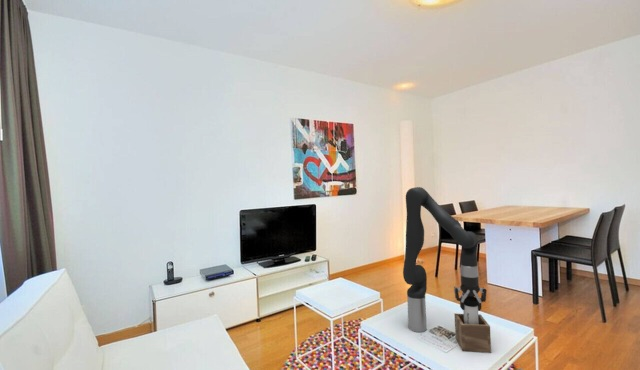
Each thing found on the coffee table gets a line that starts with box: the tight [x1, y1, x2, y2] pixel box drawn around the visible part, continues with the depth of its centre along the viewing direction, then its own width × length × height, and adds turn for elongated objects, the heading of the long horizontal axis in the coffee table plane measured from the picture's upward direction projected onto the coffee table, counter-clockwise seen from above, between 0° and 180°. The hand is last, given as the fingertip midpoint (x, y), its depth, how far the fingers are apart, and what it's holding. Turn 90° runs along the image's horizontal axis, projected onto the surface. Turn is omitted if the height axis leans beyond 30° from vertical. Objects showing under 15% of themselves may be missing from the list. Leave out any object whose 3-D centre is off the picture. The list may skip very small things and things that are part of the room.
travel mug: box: [462, 296, 479, 324], centre depth 139 cm, size 6×7×20 cm
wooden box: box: [453, 313, 492, 354], centre depth 138 cm, size 12×12×12 cm
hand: (470, 309), depth 139 cm, fingers closed on travel mug, 6 cm apart
